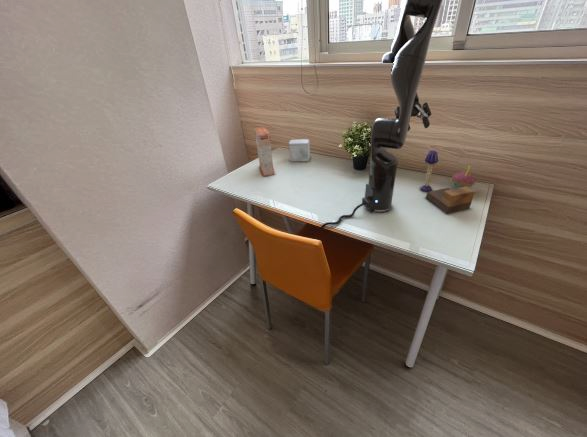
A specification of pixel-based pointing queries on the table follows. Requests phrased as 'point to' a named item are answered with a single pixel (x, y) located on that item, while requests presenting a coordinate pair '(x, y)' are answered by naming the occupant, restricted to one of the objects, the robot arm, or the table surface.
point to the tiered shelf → (443, 207)
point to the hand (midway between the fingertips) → (418, 128)
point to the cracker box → (264, 150)
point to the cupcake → (463, 179)
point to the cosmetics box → (299, 150)
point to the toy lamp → (429, 169)
